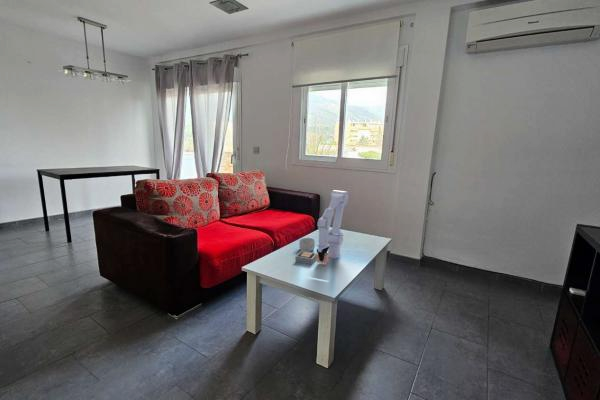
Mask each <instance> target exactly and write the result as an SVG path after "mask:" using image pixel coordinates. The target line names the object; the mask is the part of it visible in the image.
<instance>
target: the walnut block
mask: <svg viewBox="0 0 600 400" xmlns="http://www.w3.org/2000/svg"><path fill="white" fill-rule="evenodd" d="M313 253H314V252H312V253H307V252H303V253H302V254H301V255H300V257H305V258H310V259H311V258H312V256H313Z"/></svg>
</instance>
